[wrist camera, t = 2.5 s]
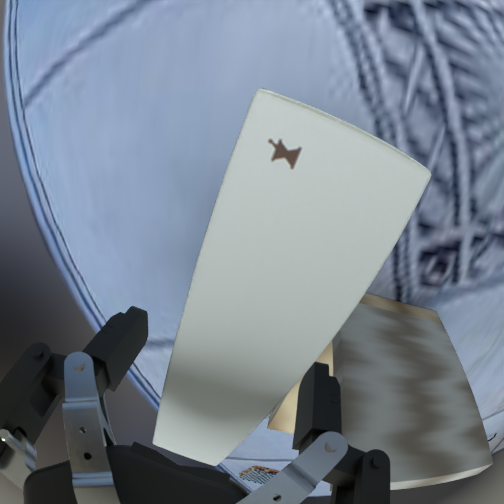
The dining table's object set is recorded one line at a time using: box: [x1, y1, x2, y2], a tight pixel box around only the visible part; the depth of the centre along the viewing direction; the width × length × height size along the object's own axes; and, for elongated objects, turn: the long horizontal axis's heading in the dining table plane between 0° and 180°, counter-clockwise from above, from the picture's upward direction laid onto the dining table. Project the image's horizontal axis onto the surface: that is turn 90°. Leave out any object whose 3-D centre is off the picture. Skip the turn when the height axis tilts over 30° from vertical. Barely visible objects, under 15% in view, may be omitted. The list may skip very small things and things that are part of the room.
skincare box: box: [153, 88, 431, 466], centre depth 17 cm, size 21×6×16 cm, turn 160°
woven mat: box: [239, 465, 280, 484], centre depth 49 cm, size 10×11×2 cm
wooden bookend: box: [267, 293, 493, 491], centre depth 22 cm, size 12×25×18 cm, turn 168°
